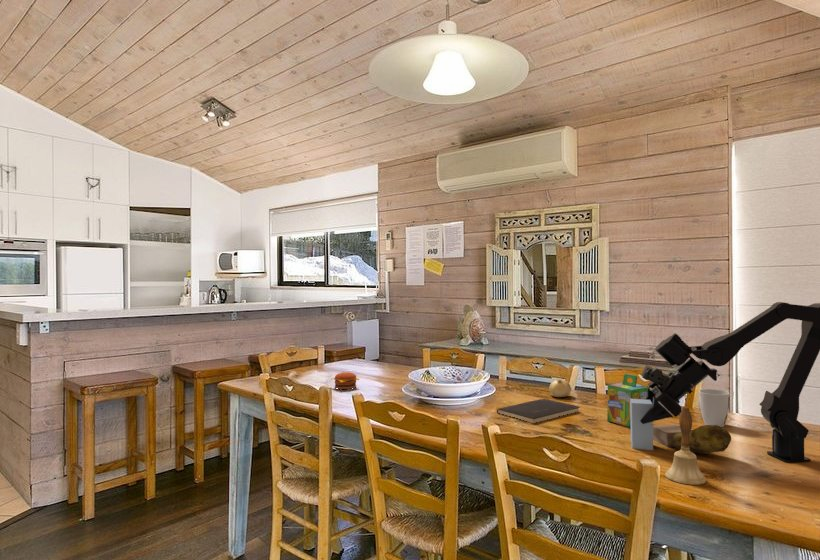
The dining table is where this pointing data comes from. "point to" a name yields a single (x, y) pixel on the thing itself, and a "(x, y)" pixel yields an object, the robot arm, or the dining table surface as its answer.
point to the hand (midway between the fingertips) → (639, 417)
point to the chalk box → (623, 399)
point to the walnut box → (665, 434)
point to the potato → (705, 439)
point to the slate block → (640, 425)
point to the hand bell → (685, 456)
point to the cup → (714, 406)
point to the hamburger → (345, 380)
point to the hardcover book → (538, 410)
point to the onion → (560, 388)
